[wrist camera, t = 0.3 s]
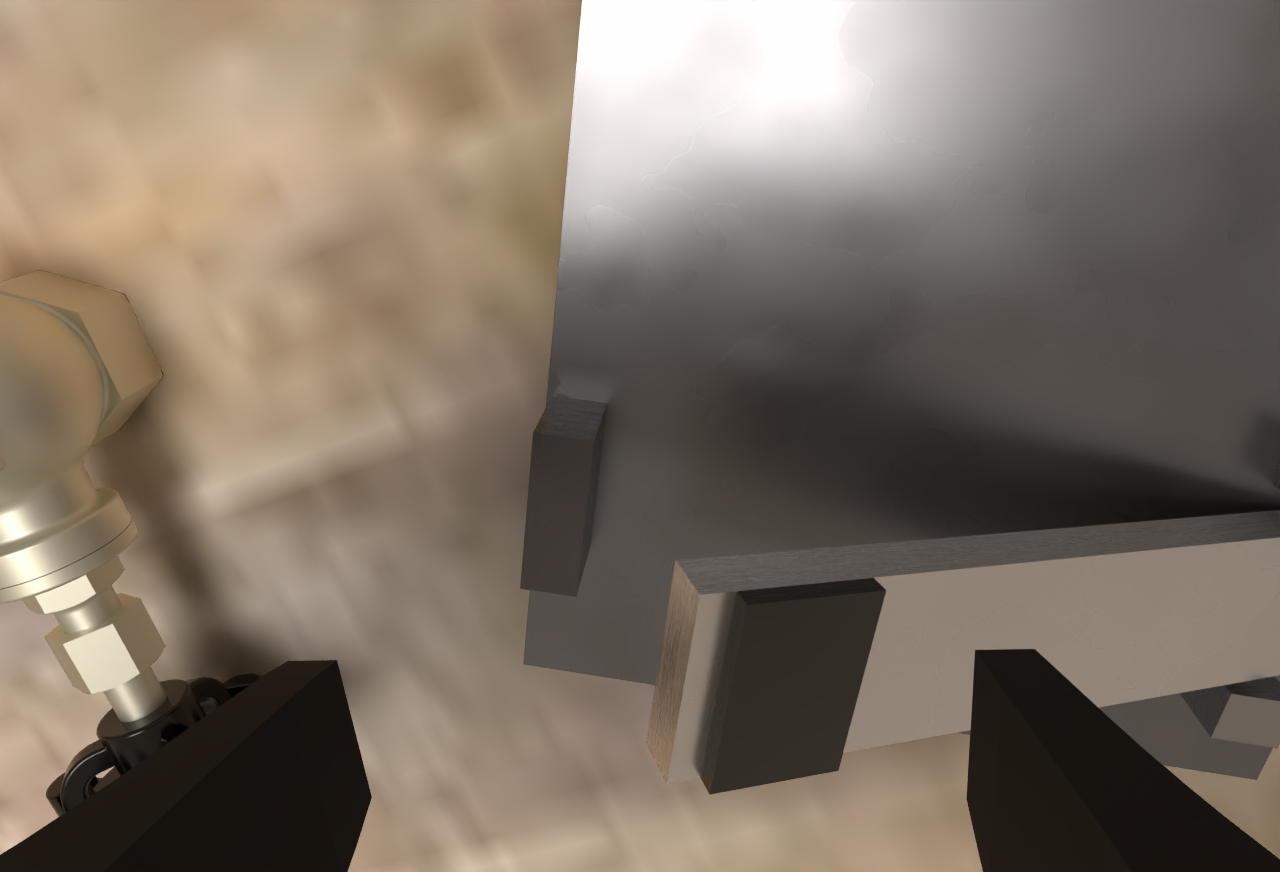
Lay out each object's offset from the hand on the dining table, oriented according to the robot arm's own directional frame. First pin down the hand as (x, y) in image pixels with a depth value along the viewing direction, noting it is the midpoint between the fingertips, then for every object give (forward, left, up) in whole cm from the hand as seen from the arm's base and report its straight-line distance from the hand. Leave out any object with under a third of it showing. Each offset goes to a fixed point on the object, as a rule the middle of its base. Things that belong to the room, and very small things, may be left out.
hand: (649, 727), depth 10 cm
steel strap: (-5, +1, -5) cm, 7 cm away
